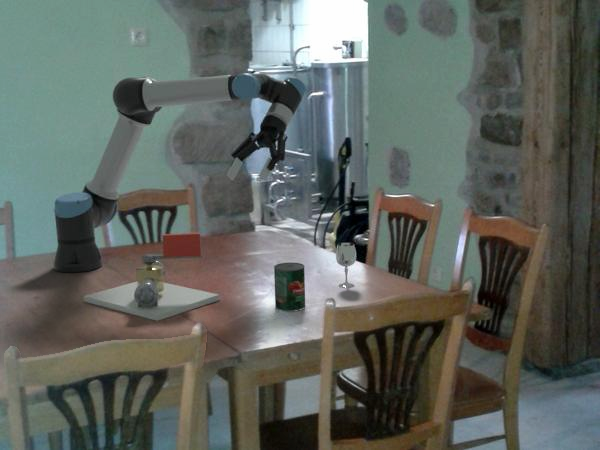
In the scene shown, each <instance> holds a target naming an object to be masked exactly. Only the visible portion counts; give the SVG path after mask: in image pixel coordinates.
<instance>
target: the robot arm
mask: <svg viewBox="0 0 600 450" xmlns="http://www.w3.org/2000/svg"><path fill="white" fill-rule="evenodd" d="M306 90H307V89H306V84H305V83H304V82H303V81H302V80H301V79H299V78H298V77H295V76H288V77H286V78H284V80H282V79H281V80H280V79H278V78H275V77H273V76H270V75H267V74H266V73H263V72H261V71H259V70H255V69H253V68H247V69H245V71H244V72H242V73H237V74H225V75H215V76H214V75H213V76H206V77H205V76H203V77H202V76H201V77H193V78H183V79H171V80H170V79H169V80H160V81H158V80H156V79H154V78H152V77H148V76H140V77H126V78H123V79H121V80H120V81H118V82H117V83H116V85H115V86H114V88H113V91H112V101H113V104H114V106H115V107H116V112H117V114H118V119H117V120H116V123H115V126H114V128H113V130H112V134H111V135H110V138H109V140H108V142H107V144H106V147H105V149H104V152H103V154H102V156H101V159H100V161H99V164H98V166H97V168H96V170H95V173H94V176H93V178H92V180H89V181H87V182H85V185H84V187H83V189H82V192H80V191H79V192H71V193H70V192H69V193H68V194H63V195H61V196H58V197H57V198H56V199H55V201H54V209H53V212H54V217H55V228H56V229H55V230H56V239H57V246H56V247H57V248H56V251H55V255H54V259H53V270H54V271H55V272H60V273H82V272H89V271H92V270H96V269H100V268H101V267H102V266H103V257H102V255H101V253H100V251H99V250H100V249H98V248H99V247H98V245H97V244H96V237H95V236H96V233H95V229H97V228H100V227H103V226H105V225H107V224H109V223H110V222H111V221H112V220H113V219H115V217H116V215H117V214H118V211H119V208H118V207H119V204H118V200H119V197H120V194H119V192H118V188H119V186H120V184H121V182H122V180H123V177H124V175H125V172H126V170H127V168H128V165H129V163H130V161H131V160H132V159H131V158H132V156H133V154H134V151H135V149H136V146H137V144H138V142H139V140H140V138H141V136H142V133H143V131H144V128H146V127H148V126H151V124H152V122H153V120H154V117H155V115H156V113H159V111H161V109H162V108H163V107H170V106H171V107H172V106H182V105H183V106H184V105H196V104H208V103H215V102H216V103H217V102H218V103H219V102H228V101H229V102H230V101H243V100H244V101H249V100H253V99H259V100H262V101H264V102H268V103H270V104H271V105H270V106H269V108H268V110H267V112H266V113H265V116H264V117H263V119H262V120H261V123H260V126H259V127H260V128H259V129H260V130H259V132H258V133H254V131H252V132H250V133H249V135H248V137H246V139H245V140H244V141H243V142H242V143H241V144H240V145H239V146H238V147H237V148H236V149H235V150H234V151H232V153H231V154H230V156H231V157H232V158H233V161H232V163H231V164H230V167H229V170H228V171H227V173H226V176H227V177H228V178H229V179H230V180H231V181H234V179H235V178H236V176H237V174H238V173H239V171H240V169H241V167H242V165H243V161H244V160H245V159H246V158H248V157H250V156H251V155H252V154H253V153H254V152H256V151H259V150H261V149H265V148H266V149H269V153H270V155H269V156H270V157H267V160H266V161H265V163H264V165H263V167H262V169H261V171H260V173H259V174H258V176H259V177H260V179H261V180H262V181H263V182H267V180H268V178H269V176H270V174H271V172H272V171H274V169H275V167H276V165H277V164H278V163H279V162H280V161H281V162H283V161H285V159H286V142H287V140H288V136H287V135H286V133H285V132H286V130H287V127H288V126H289V124H290V122H291V121H292V118H293V117H294V115H295V113H296V111H297V109H298V107H299V106H300V104H301V102H302V101H303V98H304V95H305V93H306ZM276 143H277V144H276Z"/></svg>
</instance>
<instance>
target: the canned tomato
mask: <svg viewBox="0 0 600 450" xmlns="http://www.w3.org/2000/svg"><path fill="white" fill-rule="evenodd" d="M273 271H274V272H273V273H274V301H275V302H274V303H275V306H274V307H275V309H276V310H278V311H280V310H282V311H281V312H296V311H295V310H298V311H301V310H300V309H302V310H304V309H305V308H306V285H305V284H306V283H305V277H306V276H305V264H303V263H300V262H292V261H291V262H282V263H277V264H275V265H274V266H273ZM303 308H304V309H303Z"/></svg>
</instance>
